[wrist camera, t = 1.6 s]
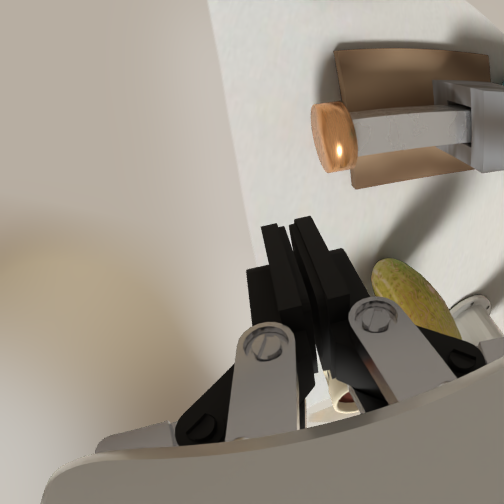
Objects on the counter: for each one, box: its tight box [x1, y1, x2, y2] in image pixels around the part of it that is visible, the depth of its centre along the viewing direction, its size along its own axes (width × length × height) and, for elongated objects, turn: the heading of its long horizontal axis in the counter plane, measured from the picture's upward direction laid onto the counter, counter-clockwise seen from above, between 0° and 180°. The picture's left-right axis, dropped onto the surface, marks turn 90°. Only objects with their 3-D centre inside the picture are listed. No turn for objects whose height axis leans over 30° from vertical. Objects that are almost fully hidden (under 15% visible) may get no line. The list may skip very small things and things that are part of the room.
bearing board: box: [333, 48, 504, 189], centre depth 24 cm, size 14×19×9 cm
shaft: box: [311, 101, 472, 173], centre depth 23 cm, size 6×16×6 cm, turn 102°
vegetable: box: [371, 258, 462, 340], centre depth 29 cm, size 6×6×20 cm
